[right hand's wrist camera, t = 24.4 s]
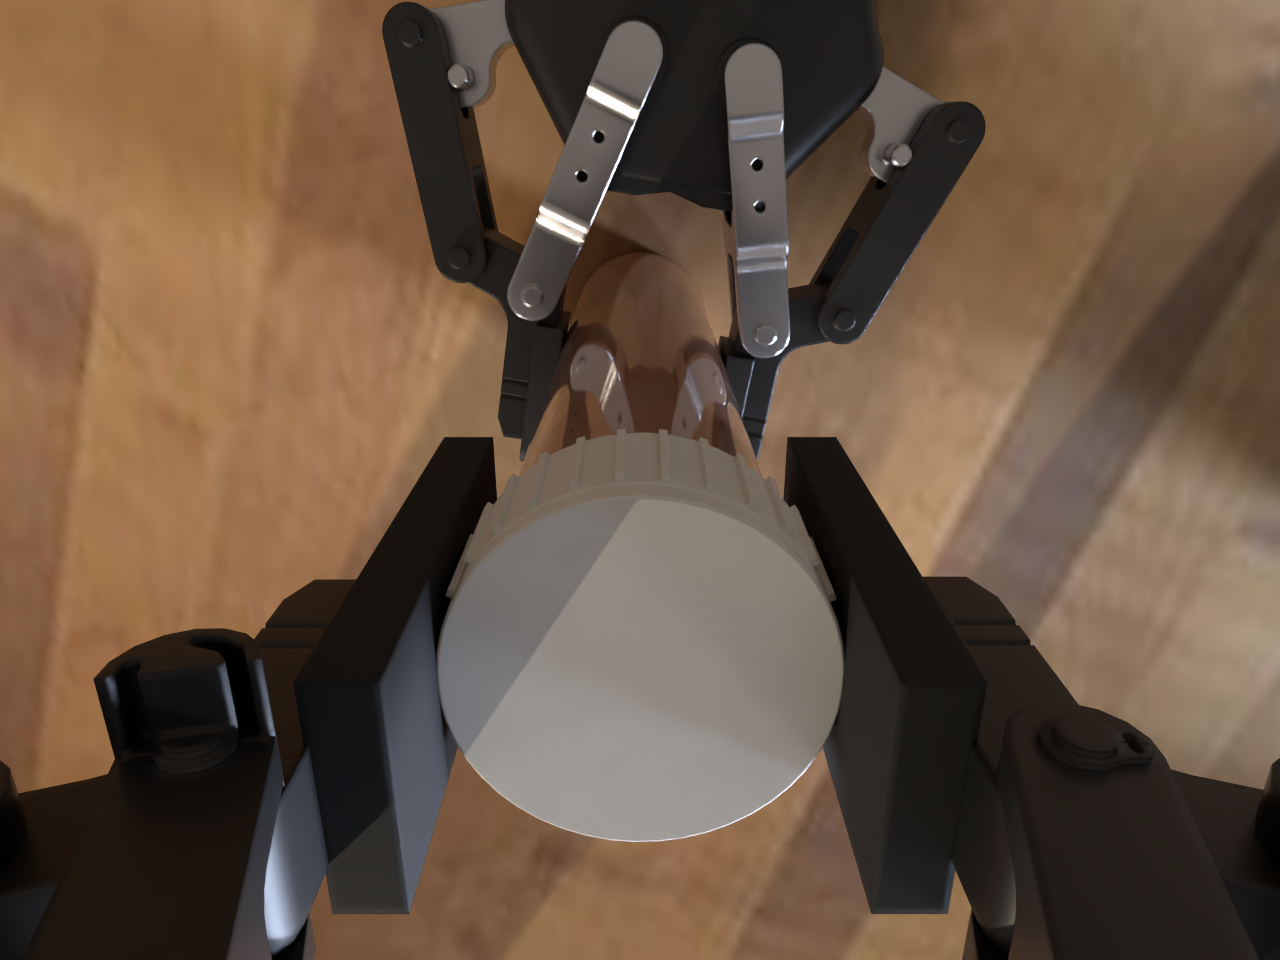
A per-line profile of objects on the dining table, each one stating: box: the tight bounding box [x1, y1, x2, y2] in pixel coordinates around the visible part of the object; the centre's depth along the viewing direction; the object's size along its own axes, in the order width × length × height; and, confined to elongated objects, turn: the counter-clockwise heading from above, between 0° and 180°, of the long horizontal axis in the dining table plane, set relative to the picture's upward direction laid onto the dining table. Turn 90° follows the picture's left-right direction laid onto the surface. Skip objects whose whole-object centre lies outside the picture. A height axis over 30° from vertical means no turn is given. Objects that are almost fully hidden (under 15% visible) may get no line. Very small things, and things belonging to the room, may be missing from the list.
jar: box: [518, 252, 762, 477], centre depth 20 cm, size 4×4×19 cm
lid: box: [436, 429, 844, 842], centre depth 11 cm, size 5×5×2 cm
